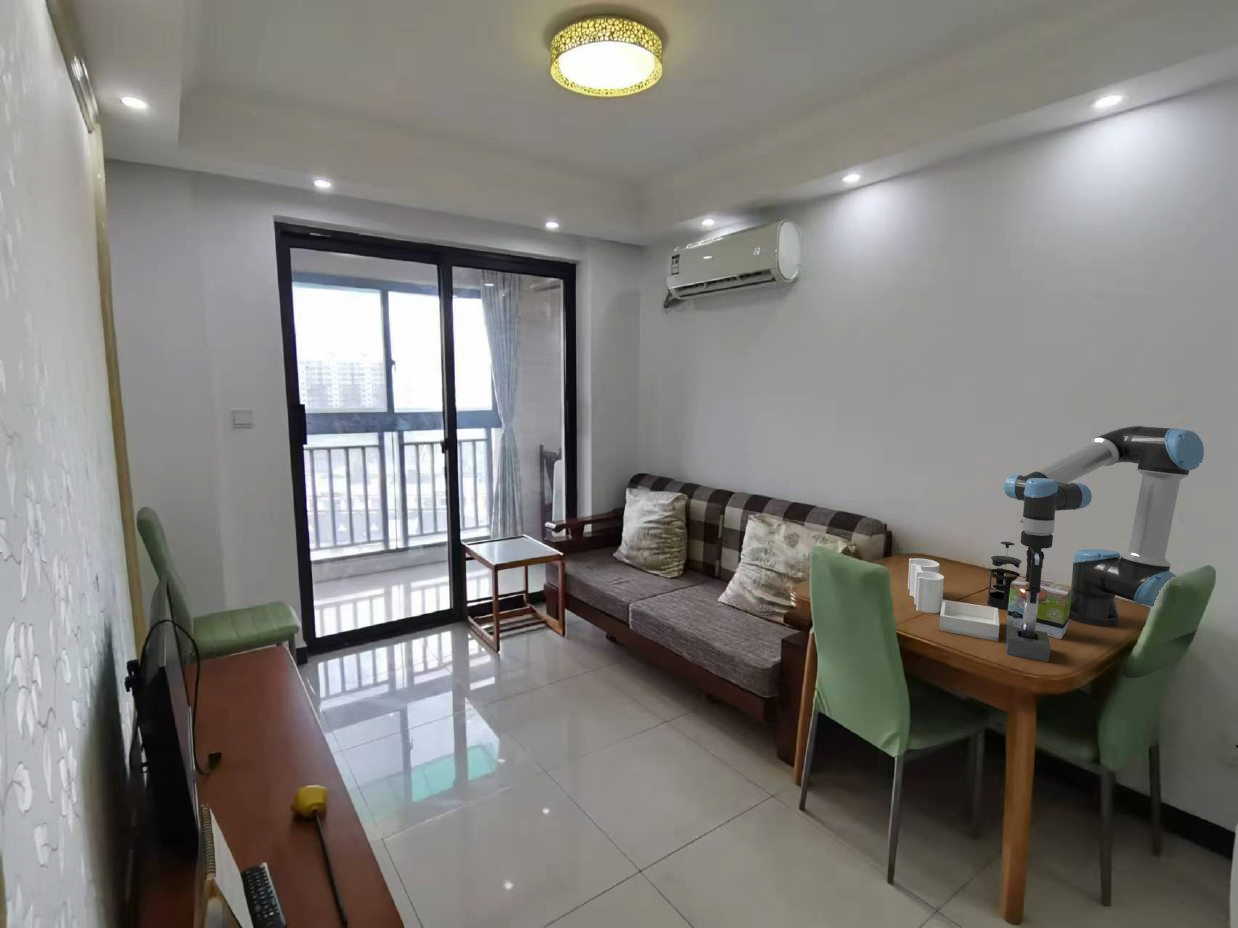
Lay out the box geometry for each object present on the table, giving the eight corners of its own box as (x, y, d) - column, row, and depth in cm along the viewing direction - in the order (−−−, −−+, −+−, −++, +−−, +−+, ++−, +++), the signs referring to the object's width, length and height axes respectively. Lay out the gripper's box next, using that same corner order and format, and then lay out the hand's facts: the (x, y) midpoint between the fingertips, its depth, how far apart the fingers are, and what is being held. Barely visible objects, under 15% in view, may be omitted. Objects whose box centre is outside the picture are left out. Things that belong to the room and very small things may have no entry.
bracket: (945, 615, 204) (948, 581, 202) (914, 611, 208) (916, 578, 206) (935, 590, 227) (937, 559, 226) (907, 587, 231) (908, 557, 229)
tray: (996, 622, 197) (997, 608, 196) (998, 641, 184) (999, 625, 183) (941, 613, 205) (942, 599, 205) (939, 630, 192) (940, 615, 191)
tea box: (1005, 626, 194) (1009, 582, 192) (1013, 617, 201) (1017, 575, 199) (1062, 640, 184) (1066, 594, 182) (1068, 630, 191) (1073, 586, 189)
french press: (1022, 612, 205) (1028, 547, 202) (991, 609, 208) (996, 545, 205) (1012, 600, 216) (1017, 538, 213) (982, 597, 219) (987, 536, 216)
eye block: (1045, 648, 178) (1046, 632, 178) (1048, 662, 170) (1050, 645, 169) (1005, 641, 183) (1006, 625, 183) (1006, 654, 175) (1008, 638, 174)
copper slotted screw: (1013, 632, 181) (1017, 581, 179) (1041, 637, 177) (1046, 585, 175) (1014, 641, 175) (1018, 588, 173) (1043, 646, 171) (1048, 592, 169)
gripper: (1019, 523, 182) (1013, 595, 185) (1023, 538, 165) (1016, 618, 168) (1049, 526, 178) (1043, 599, 181) (1057, 542, 161) (1049, 623, 164)
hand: (1030, 608), depth 175 cm, fingers closed on copper slotted screw, 7 cm apart
